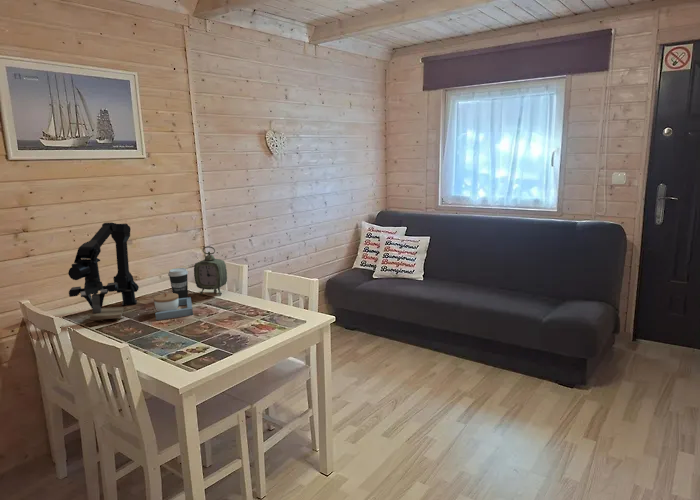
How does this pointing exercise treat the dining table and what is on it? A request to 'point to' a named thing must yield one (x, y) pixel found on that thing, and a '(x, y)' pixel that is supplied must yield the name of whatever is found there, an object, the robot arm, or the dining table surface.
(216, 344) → the dining table surface
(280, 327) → the dining table surface
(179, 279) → the coffee cup
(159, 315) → the slate frame
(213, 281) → the tabletop clock
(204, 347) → the dining table surface
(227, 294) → the dining table surface
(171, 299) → the lidded jar
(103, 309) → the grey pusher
